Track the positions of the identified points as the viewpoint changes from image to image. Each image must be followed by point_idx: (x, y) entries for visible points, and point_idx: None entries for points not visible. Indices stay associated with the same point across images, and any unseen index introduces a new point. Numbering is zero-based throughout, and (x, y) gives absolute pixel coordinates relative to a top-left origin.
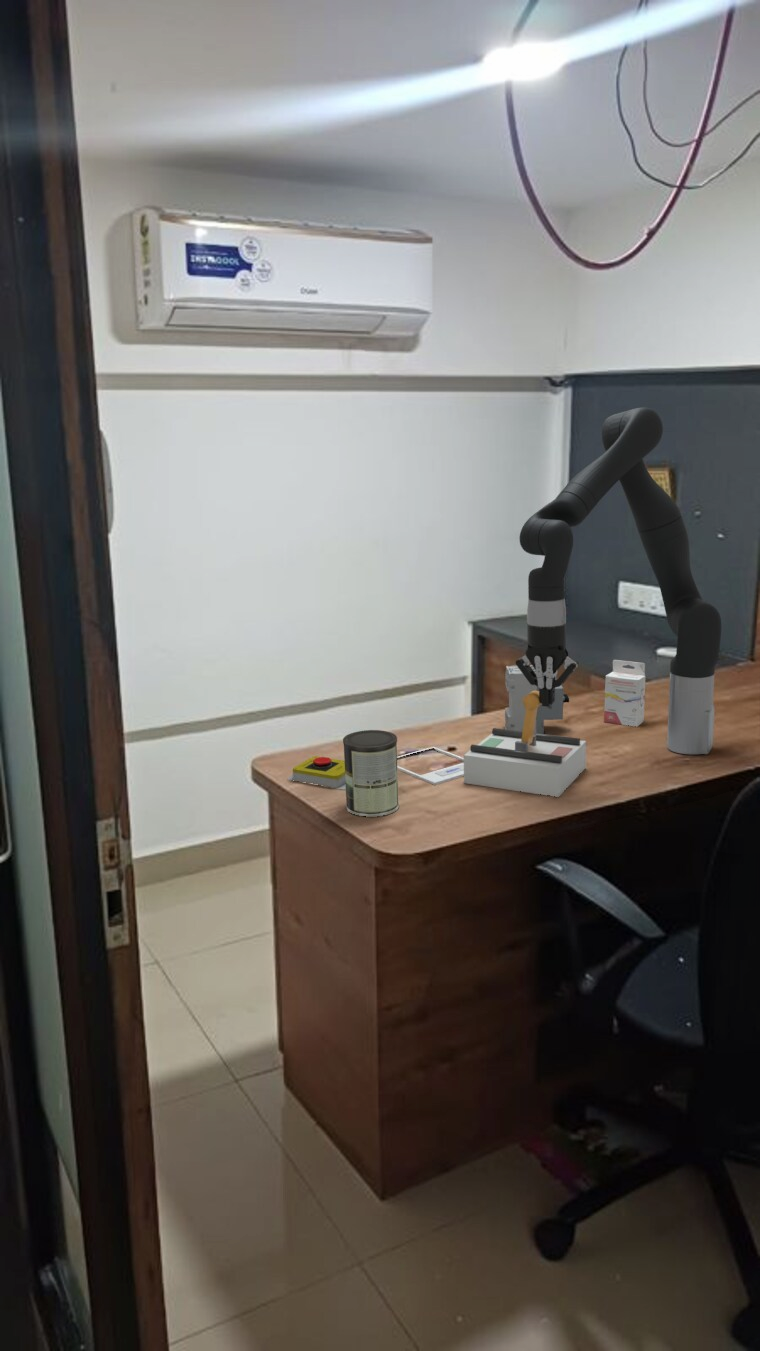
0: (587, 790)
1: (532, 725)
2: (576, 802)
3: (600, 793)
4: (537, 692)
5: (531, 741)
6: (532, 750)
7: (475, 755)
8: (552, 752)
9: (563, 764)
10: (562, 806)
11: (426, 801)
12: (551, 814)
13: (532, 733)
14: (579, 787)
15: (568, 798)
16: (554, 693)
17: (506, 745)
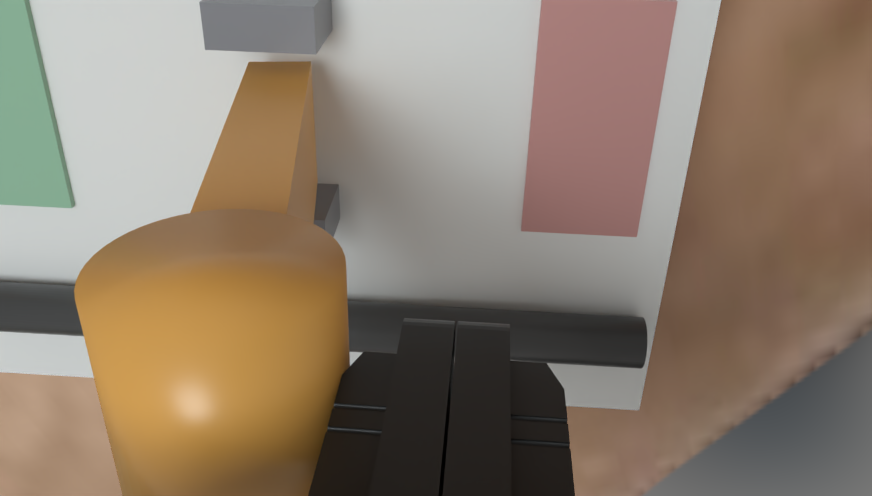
0: (762, 156)
1: (304, 207)
2: (716, 330)
3: (843, 177)
4: (236, 411)
5: (311, 89)
6: (360, 146)
7: (55, 357)
8: (530, 165)
9: (653, 325)
10: (653, 390)
11: (70, 493)
12: (620, 474)
13: (307, 125)
14: (708, 126)
15: (667, 295)
16: (570, 490)
17: (120, 99)
